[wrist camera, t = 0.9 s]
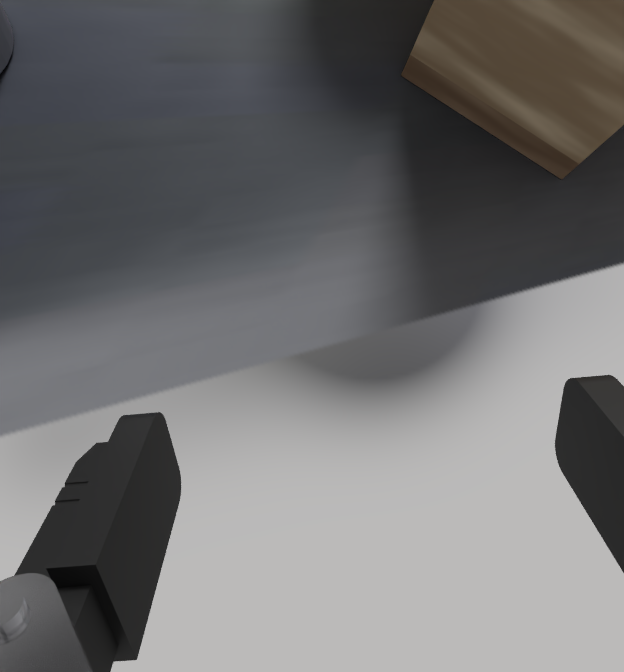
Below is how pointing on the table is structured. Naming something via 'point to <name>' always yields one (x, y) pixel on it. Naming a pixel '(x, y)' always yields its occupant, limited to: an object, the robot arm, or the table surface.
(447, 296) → the table surface
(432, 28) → the brown tall stepped block
